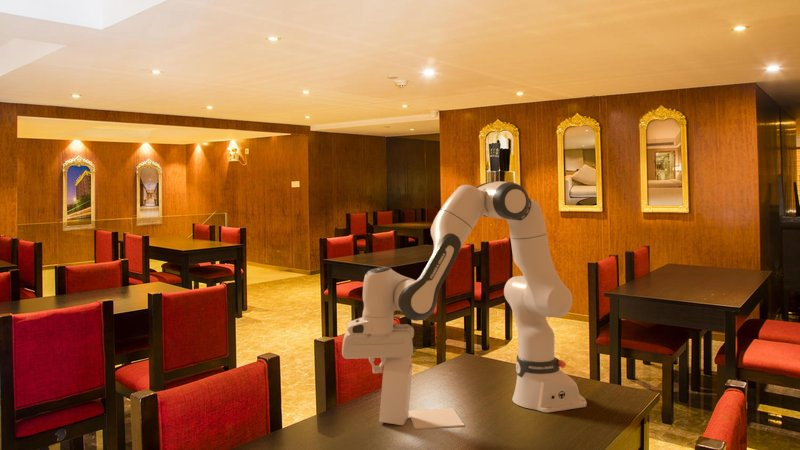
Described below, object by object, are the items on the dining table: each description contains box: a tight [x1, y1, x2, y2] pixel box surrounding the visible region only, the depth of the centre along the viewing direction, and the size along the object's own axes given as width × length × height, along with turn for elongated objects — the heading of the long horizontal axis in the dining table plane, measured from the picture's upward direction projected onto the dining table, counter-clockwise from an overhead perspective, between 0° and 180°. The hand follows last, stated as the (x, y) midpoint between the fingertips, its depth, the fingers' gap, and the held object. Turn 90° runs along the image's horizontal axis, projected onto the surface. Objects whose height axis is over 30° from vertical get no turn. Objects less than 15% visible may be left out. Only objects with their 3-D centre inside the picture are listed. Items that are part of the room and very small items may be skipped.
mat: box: [408, 407, 465, 430], centre depth 169 cm, size 14×13×1 cm
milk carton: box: [378, 356, 413, 426], centre depth 167 cm, size 7×7×19 cm
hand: (377, 372), depth 166 cm, fingers closed
